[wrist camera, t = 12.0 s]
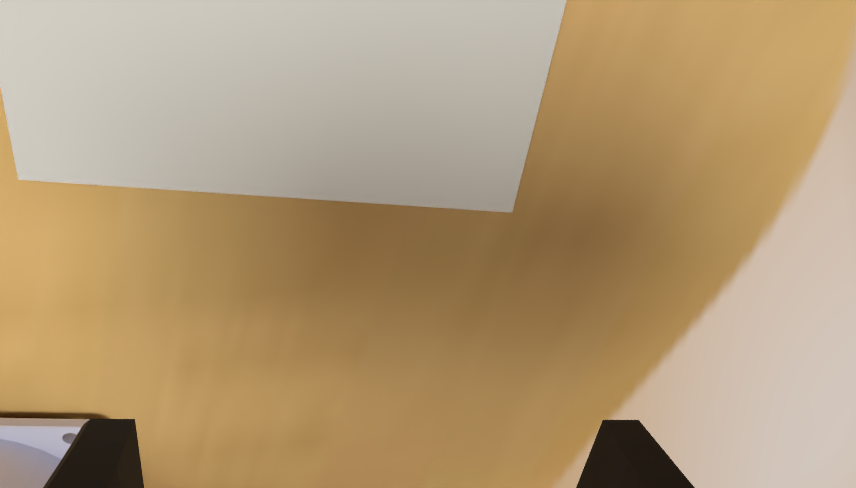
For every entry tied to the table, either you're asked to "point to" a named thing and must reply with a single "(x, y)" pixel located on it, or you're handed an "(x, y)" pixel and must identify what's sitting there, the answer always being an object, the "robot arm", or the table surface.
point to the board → (280, 96)
